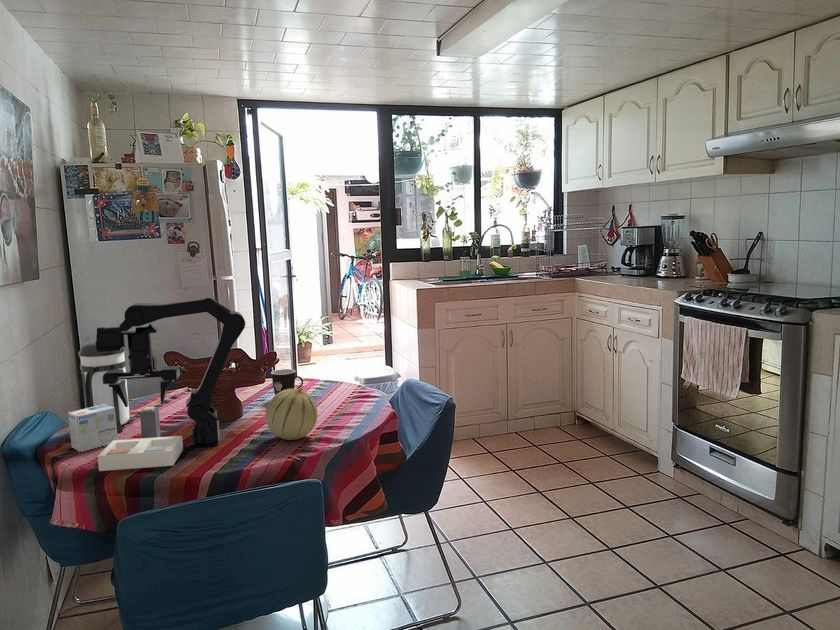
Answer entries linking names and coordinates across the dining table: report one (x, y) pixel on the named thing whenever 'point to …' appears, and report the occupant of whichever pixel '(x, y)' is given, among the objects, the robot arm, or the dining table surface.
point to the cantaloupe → (291, 414)
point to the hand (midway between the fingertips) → (144, 405)
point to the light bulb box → (92, 427)
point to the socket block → (140, 453)
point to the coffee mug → (284, 380)
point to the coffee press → (92, 379)
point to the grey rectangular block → (150, 422)
